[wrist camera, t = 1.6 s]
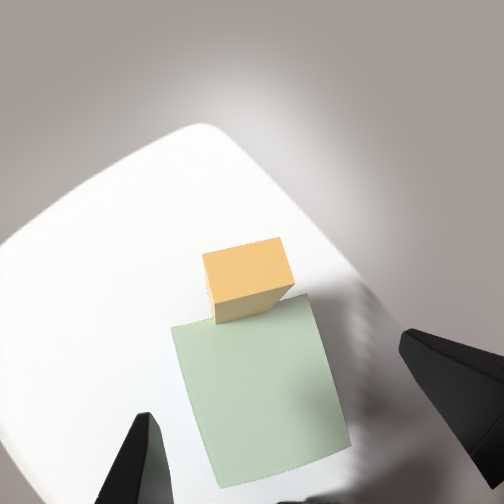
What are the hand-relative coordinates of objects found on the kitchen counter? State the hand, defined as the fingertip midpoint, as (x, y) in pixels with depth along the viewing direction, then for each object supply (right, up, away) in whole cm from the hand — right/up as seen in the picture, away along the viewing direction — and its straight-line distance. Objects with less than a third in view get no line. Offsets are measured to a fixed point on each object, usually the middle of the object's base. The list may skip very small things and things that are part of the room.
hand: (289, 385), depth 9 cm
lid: (-1, -4, +9) cm, 9 cm away
